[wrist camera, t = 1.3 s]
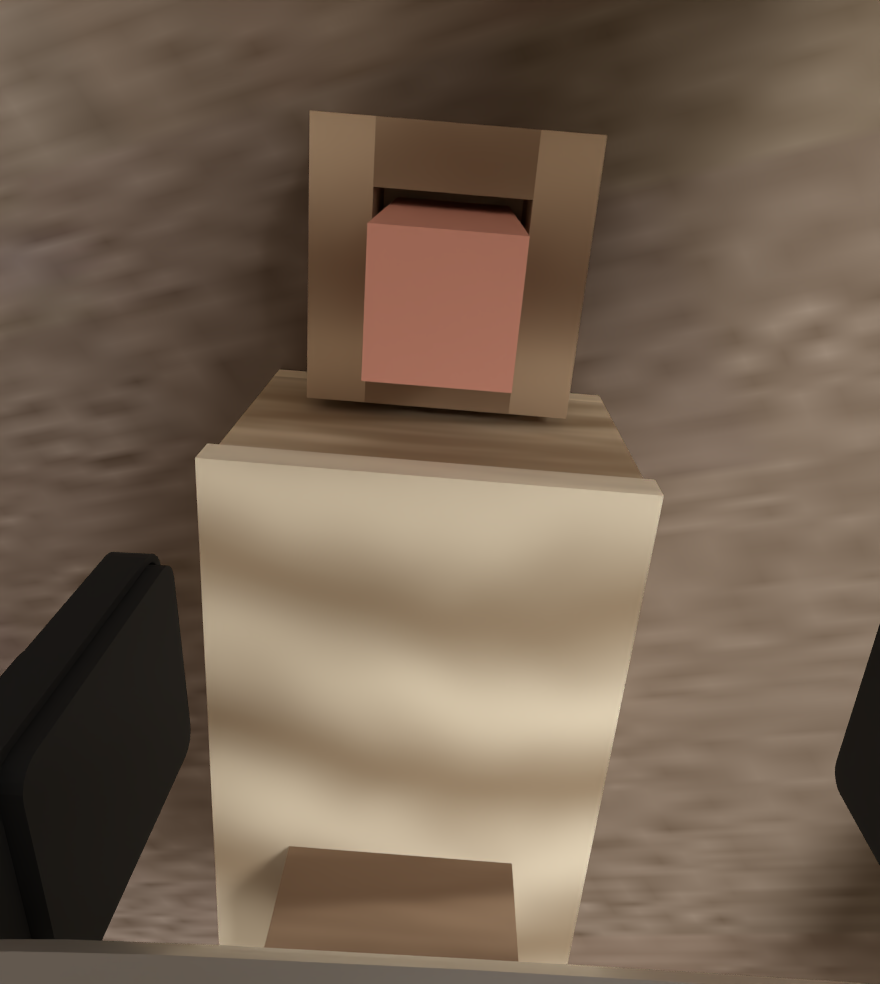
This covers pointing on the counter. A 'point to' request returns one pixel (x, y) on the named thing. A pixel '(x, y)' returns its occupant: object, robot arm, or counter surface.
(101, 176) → the counter surface
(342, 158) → the wooden box
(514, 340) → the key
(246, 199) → the counter surface
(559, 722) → the lid
